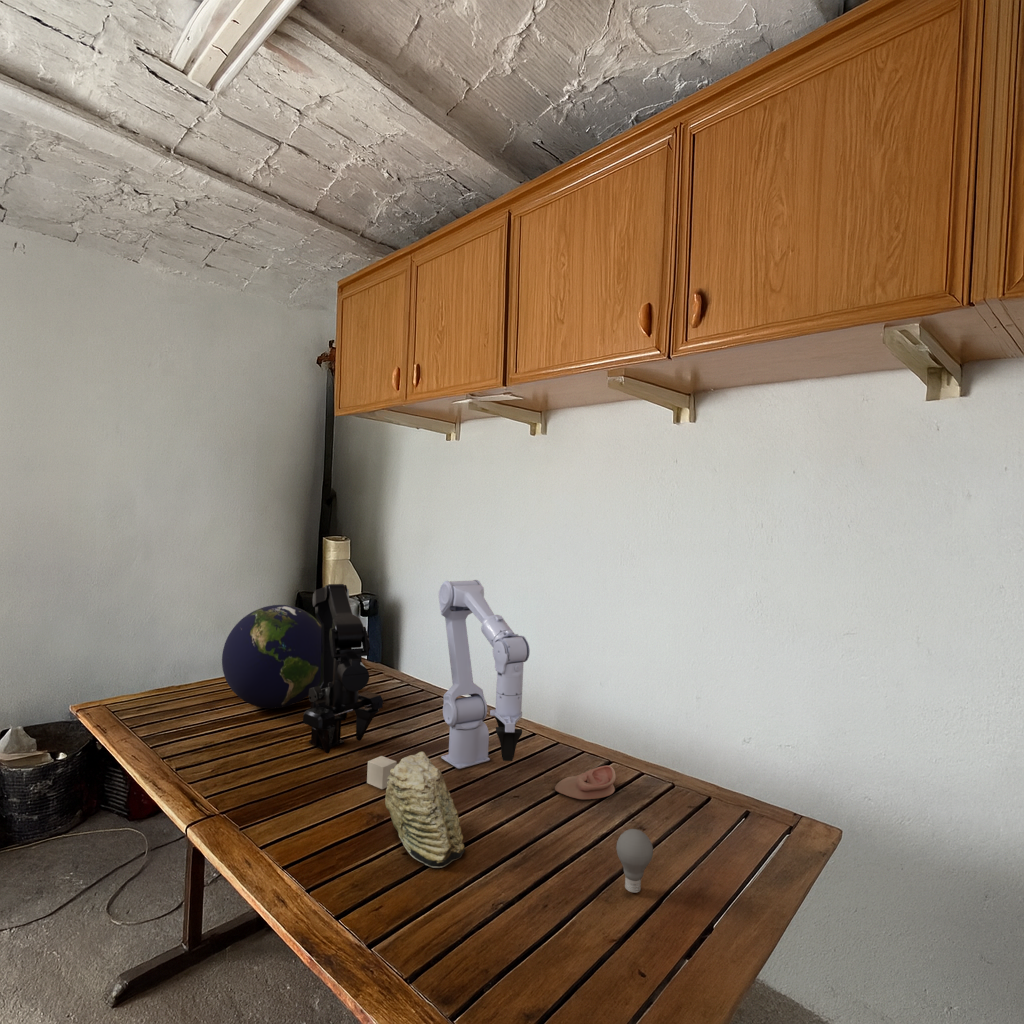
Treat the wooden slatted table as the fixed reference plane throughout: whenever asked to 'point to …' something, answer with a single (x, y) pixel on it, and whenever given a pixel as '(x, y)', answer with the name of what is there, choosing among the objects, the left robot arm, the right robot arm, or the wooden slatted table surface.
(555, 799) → the wooden slatted table surface
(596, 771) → the anatomical model
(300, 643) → the globe
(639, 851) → the light bulb
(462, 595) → the right robot arm
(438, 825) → the fossil
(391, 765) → the beige cube
